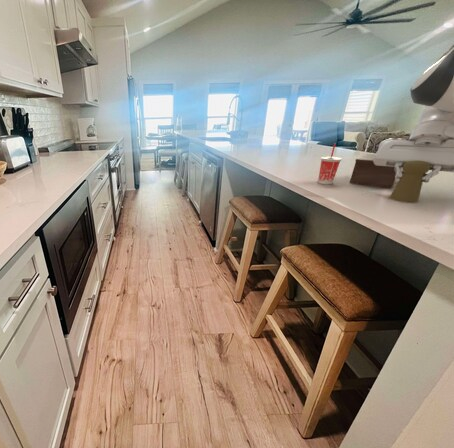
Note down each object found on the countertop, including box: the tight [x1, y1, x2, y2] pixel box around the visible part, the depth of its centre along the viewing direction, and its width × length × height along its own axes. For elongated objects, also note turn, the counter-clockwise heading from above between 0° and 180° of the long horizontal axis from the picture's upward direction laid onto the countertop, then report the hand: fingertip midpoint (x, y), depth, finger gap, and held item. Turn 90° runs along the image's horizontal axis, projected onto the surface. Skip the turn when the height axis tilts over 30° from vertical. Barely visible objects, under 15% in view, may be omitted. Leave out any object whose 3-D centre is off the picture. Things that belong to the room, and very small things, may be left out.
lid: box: [355, 153, 376, 163], centre depth 84 cm, size 14×12×1 cm
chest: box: [349, 160, 403, 190], centre depth 86 cm, size 14×12×8 cm
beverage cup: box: [317, 142, 343, 185], centre depth 87 cm, size 6×6×14 cm
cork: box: [389, 160, 430, 204], centre depth 68 cm, size 6×6×11 cm
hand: (411, 179), depth 68 cm, fingers closed on cork, 4 cm apart
